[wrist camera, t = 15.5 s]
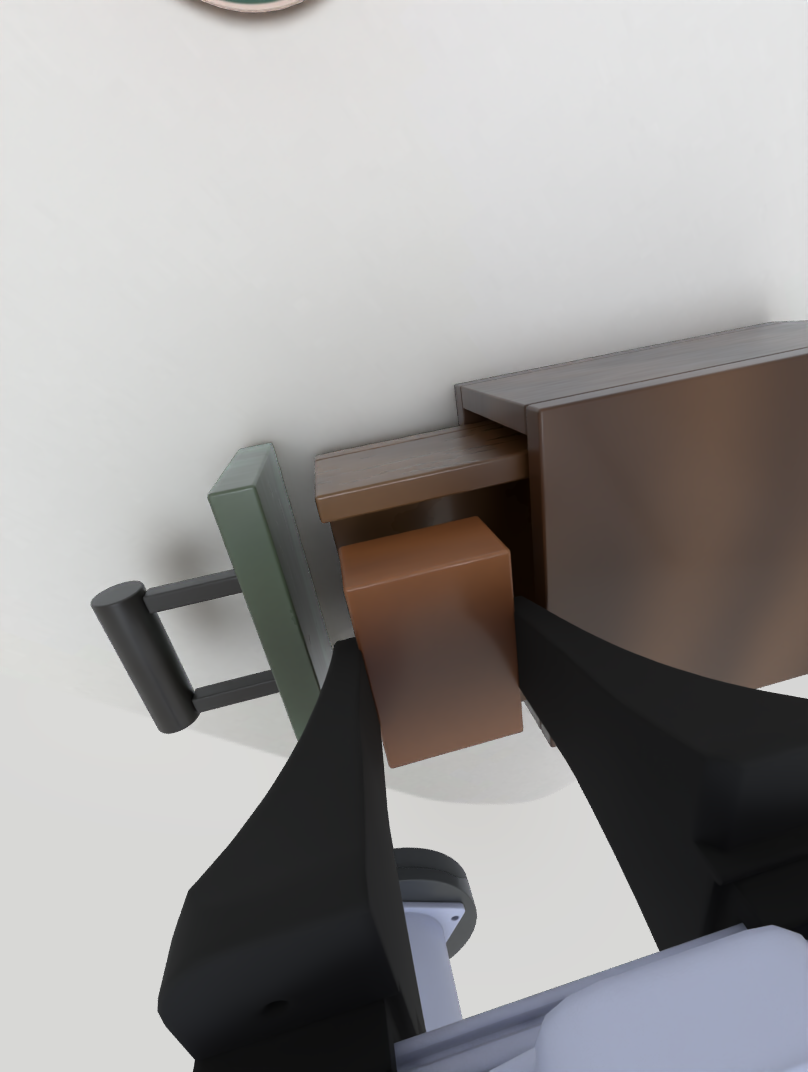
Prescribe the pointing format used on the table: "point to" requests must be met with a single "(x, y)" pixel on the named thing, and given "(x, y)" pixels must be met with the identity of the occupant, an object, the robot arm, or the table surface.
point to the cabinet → (671, 497)
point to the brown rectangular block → (436, 636)
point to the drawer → (281, 568)
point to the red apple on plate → (253, 4)
